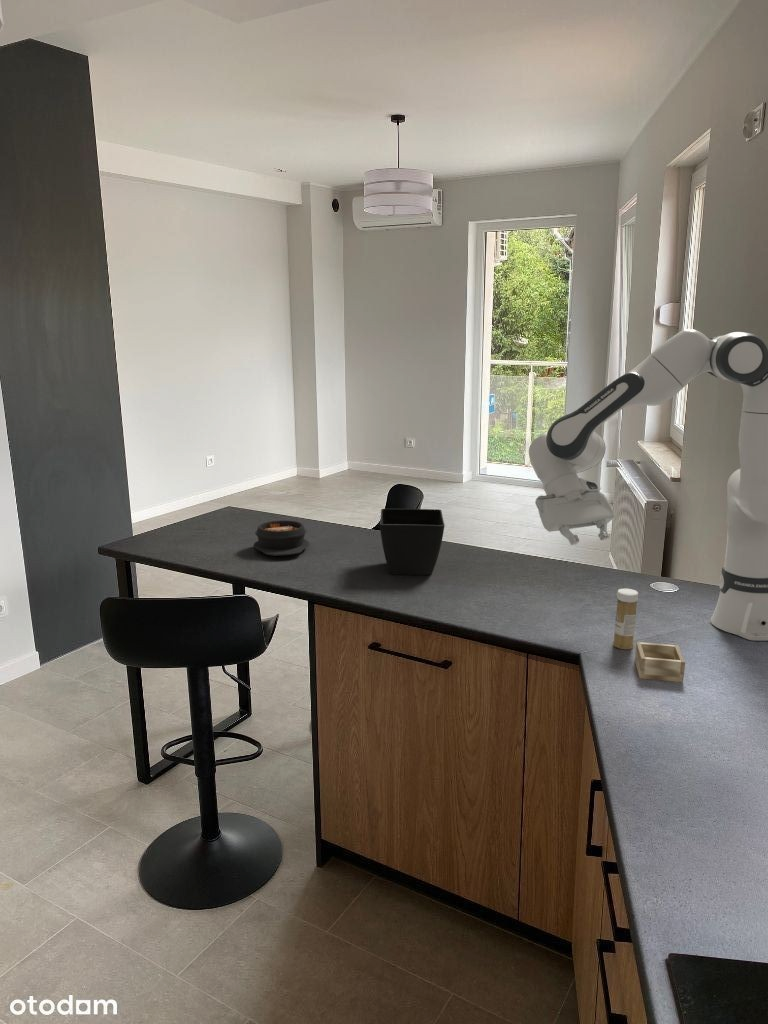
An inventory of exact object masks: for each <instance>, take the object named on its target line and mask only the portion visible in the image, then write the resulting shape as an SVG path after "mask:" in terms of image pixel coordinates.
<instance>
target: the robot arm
mask: <svg viewBox="0 0 768 1024" xmlns="http://www.w3.org/2000/svg"><path fill="white" fill-rule="evenodd" d="M704 373H708V374H710V375H711V376H713V377H715V378H718V379H720V380H722V381H725V382H731V383H732V382H733V383H738V384H739V385H740V386H741V390H742V393H743V395H742V396H743V401H742V406H741V415H740V424H739V434H738V443H737V444H738V445H737V446H738V450H739V453H738V454H739V468H738V469H736V470H735V471H733V473H732V474H731V475H730V476H729V478H728V479H727V480H728V481H727V483H726V484H727V485H726V488H727V489H726V490H727V492H726V493H727V500H726V501H727V502H726V503H727V504H726V526H727V532H726V533H727V536H726V537H727V538H726V539H727V540H726V546H725V547H726V548H725V557H724V563H723V564H724V566H723V567H722V568H721V573H720V577H719V590H720V591H719V595H718V600H717V603H716V606H715V609H714V611H713V614H712V616H711V618H710V623H711V624H712V625H713V626H714V627H715V628H717V629H720V630H722V631H724V632H726V633H729V634H734V635H736V636H739V637H742V638H743V639H746V640H749V641H760V642H761V641H762V642H763V641H764V642H766V641H768V346H767V344H766V342H765V341H764V340H763V339H762V338H761V337H760V336H759V335H757V334H754V333H750V332H746V331H745V332H743V331H734V332H733V331H732V332H730V333H727V334H722V335H718V336H714V337H711V338H708V337H707V336H706V335H705V334H704V333H702V331H699V330H697V329H695V328H694V329H693V328H685V329H683V330H681V331H679V332H677V333H676V334H675V335H673V336H672V337H670V338H669V339H667V340H666V341H664V342H663V343H662V344H660V345H659V346H658V347H657V348H656V349H654V351H652V352H651V353H650V354H649V355H648V356H647V357H646V358H644V359H643V360H642V361H641V362H640V363H639V364H638V365H637V366H635V367H633V368H632V369H631V370H629V371H628V372H626V373H625V374H623V375H621V376H620V377H618V378H616V379H614V380H613V381H612V382H611V383H610V384H608V385H607V386H605V387H604V388H603V389H602V390H599V392H598V393H597V394H595V395H594V396H593V397H591V398H590V399H589V400H588V401H586V402H585V403H584V404H583V405H581V406H580V407H578V408H577V409H575V410H574V411H573V412H570V413H568V414H566V415H563V416H560V417H559V418H557V419H556V420H555V421H554V422H552V424H551V425H550V427H549V428H548V430H547V433H543V434H541V435H539V436H537V437H536V438H535V439H533V441H532V442H531V443H530V445H529V447H528V457H529V460H530V463H531V465H532V468H533V470H534V472H535V475H536V477H537V478H538V479H539V480H540V482H541V483H542V487H543V491H544V493H545V495H538V496H537V498H536V499H535V501H534V503H535V506H536V507H537V510H538V514H539V517H540V520H541V523H542V526H543V527H544V528H543V529H545V530H546V532H557V531H558V532H559V533H560V535H562V536H563V537H564V538H566V539H567V540H568V542H569V543H570V545H571V546H573V545H578V543H580V538H579V537H578V535H577V534H574V533H572V531H571V530H572V529H579V528H585V527H594V526H595V527H596V528H597V529H598V530H599V533H598V534H597V536H598V538H599V539H600V541H607V539H609V538H610V534H609V533H608V524H609V523H610V522H611V521H612V520H613V519H614V518H615V510H614V509H613V507H612V505H611V502H610V501H609V500H608V498H607V496H606V495H605V494H604V493H602V492H601V489H602V488H601V485H600V484H599V483H598V482H595V481H590V480H587V479H584V478H582V477H579V475H578V473H582V472H584V471H588V470H590V469H592V468H593V467H595V466H597V465H599V463H601V461H602V460H603V458H604V457H605V454H606V448H607V447H606V442H605V441H604V439H603V437H602V436H600V435H599V434H598V433H597V432H596V430H597V429H598V428H599V427H601V426H602V425H604V423H606V422H607V421H608V420H610V419H611V418H612V417H613V416H615V415H616V414H617V413H619V412H620V411H622V410H624V409H625V408H627V407H631V406H651V407H652V406H660V405H662V404H664V403H666V402H667V401H669V400H671V399H672V398H674V397H675V396H676V395H678V393H680V391H682V390H683V389H684V388H685V387H686V386H687V385H688V384H689V383H690V382H692V380H694V379H695V378H697V377H698V376H700V375H702V374H704Z"/></svg>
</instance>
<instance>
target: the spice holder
mask: <svg viewBox="0 0 768 1024" xmlns="http://www.w3.org/2000/svg"><path fill="white" fill-rule="evenodd" d="M634 653H635V655H634V663H635V666H636V667H635V668H636V670H637V674H638V678H639V679H643V680H654V681H666V682H674V683H675V682H676V683H684V678H685V669H686V660H685V658H684V655H683V654H682V651H681V648H680V647H679V645H678V644H668V643H667V644H665V643H655V642H654V643H653V642H652V643H651V642H640V641H636V645H635V652H634Z"/></svg>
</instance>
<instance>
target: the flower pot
mask: <svg viewBox="0 0 768 1024" xmlns="http://www.w3.org/2000/svg"><path fill="white" fill-rule="evenodd" d="M379 520H380V521H379V530H380V538H381V544H382V550H383V554H384V557H385V562H386V565H387V569H388V571H389V574H391V575H402V576H403V575H406V576H407V575H411V576H414V575H415V576H416V575H417V576H422V575H423V576H430V575H432V574H433V572H434V570H435V566H436V564H437V561H438V559H439V555H440V552H441V551H440V550H441V547H442V542H443V539H444V538H443V537H444V532H445V527H446V526H445V525H446V524H445V521H444V517H443V511H442V509H439V508H438V509H436V508H435V509H434V508H431V509H430V508H429V509H428V508H381V509H380V519H379Z"/></svg>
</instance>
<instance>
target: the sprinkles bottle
mask: <svg viewBox="0 0 768 1024" xmlns="http://www.w3.org/2000/svg"><path fill="white" fill-rule="evenodd" d="M616 599H617V604H616V612H615V622H614V623H615V624H614V635H613V642H612V645H613V646H614V647H615V648H617V649H621V650H632V649H633V648H634V635H635V629H636V621H637V620H636V619H637V603H638V600H639V592H638V590H635V589H631V588H619V589H618V590H617V592H616Z"/></svg>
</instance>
